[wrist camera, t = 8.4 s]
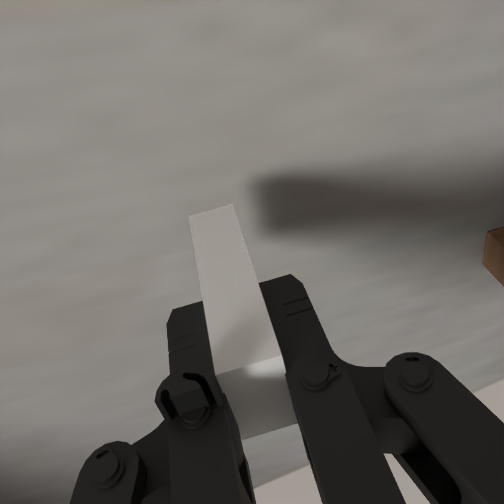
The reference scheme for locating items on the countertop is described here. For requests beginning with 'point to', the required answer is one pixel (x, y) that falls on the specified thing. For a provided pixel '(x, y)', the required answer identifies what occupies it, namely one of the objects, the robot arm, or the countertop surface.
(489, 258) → the bridge
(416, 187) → the countertop surface
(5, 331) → the countertop surface
